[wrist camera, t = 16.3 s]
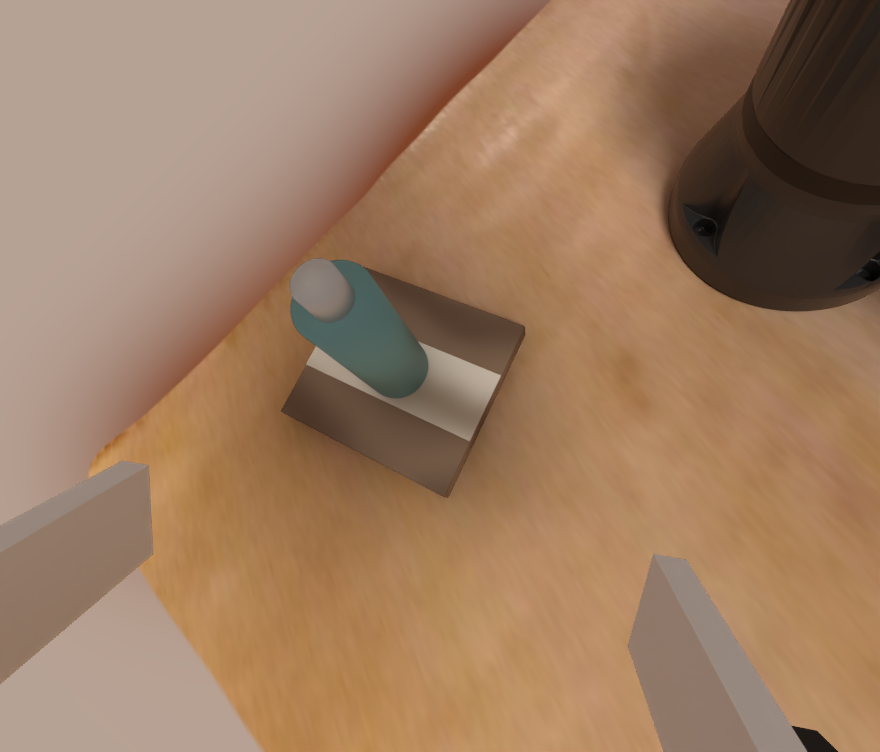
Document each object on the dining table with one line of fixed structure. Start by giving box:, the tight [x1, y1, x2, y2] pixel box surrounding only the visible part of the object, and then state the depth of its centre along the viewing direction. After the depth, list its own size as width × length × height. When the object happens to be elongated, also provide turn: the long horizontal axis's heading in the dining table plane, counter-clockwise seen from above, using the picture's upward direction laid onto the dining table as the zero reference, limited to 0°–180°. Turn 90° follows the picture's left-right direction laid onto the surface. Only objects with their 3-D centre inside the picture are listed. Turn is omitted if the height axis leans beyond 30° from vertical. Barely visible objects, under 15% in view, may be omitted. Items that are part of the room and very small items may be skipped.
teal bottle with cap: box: [290, 258, 428, 398], centre depth 27 cm, size 5×5×13 cm
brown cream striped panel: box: [281, 267, 525, 498], centre depth 34 cm, size 13×14×2 cm
